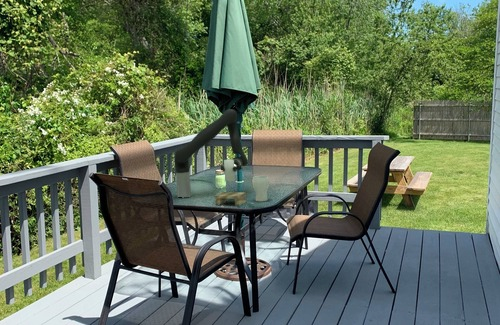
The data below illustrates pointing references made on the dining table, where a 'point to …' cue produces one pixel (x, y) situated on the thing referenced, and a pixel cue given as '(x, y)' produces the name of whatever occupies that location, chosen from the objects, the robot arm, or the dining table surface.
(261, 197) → the cup
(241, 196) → the shelf stand
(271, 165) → the dining table surface
